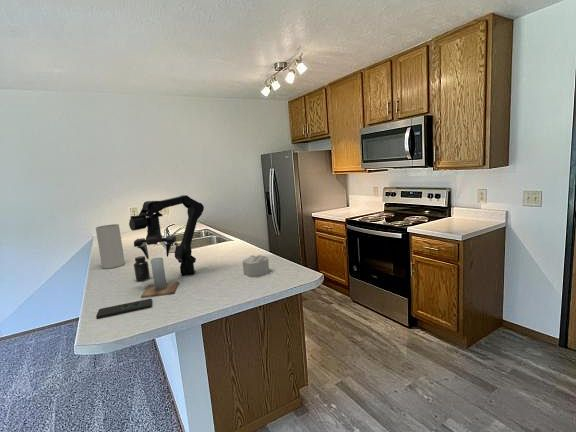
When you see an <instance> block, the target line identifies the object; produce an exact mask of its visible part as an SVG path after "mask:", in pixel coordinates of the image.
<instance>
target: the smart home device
mask: <svg viewBox="0 0 576 432" xmlns="http://www.w3.org/2000/svg"><path fill="white" fill-rule="evenodd" d="M150 308H153V299H152V298H147V299H142V300H136V301H131V302H127V303H122V304H117V305H113V306H112V305H111V306H106V307H102V308H100V309H98V310H97V314H96V319H97V320H99V319H105V318H110V317H114V316H118V315H124V314H128V313H134V312H137V311H141V310H148V309H150Z"/></svg>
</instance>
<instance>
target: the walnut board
mask: <svg viewBox="0 0 576 432" xmlns="http://www.w3.org/2000/svg"><path fill="white" fill-rule="evenodd" d="M179 284H180V283H179V281H171V282H166V285H167V288H165V289H163V290H155V286H154V284H148V285H147V287H146V288H145V290H144V291H143V292H142V294H141V296H140V298H141V299H145V298H152V297H154V298H155V297H159V296H160V297H161V296H167V295H169V296H170V295H174V294H175V293H176V290H177V289H178V287H179Z"/></svg>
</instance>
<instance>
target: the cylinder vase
mask: <svg viewBox="0 0 576 432" xmlns="http://www.w3.org/2000/svg"><path fill="white" fill-rule="evenodd" d="M95 231H96V238H97V239H96V240H97V244H98V245H97V246H98V251H99V257H100V264H101V267H102V268H103V269H105V270H107V269H108V270H109V269H114V268H119V267H122V266H124V265H125V262H126V261H125V256H124V255H125V254H124V249H123V243H122V235H121V230H120V224H117V223H116V224H104V225H99V226H96V227H95Z"/></svg>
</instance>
